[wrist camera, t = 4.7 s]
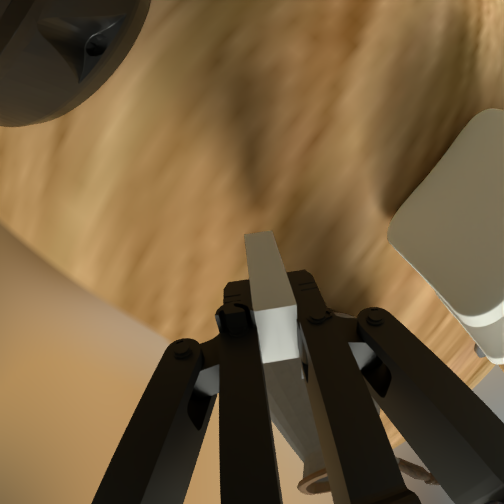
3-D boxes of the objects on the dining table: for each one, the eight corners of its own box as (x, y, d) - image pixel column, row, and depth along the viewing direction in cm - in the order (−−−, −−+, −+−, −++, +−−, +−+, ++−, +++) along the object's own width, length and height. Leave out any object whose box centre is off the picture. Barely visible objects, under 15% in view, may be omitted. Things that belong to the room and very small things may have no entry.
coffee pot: (219, 361, 25) (221, 525, 11) (305, 269, 21) (384, 470, 7) (363, 410, 31) (396, 507, 18) (432, 353, 28) (489, 452, 14)
